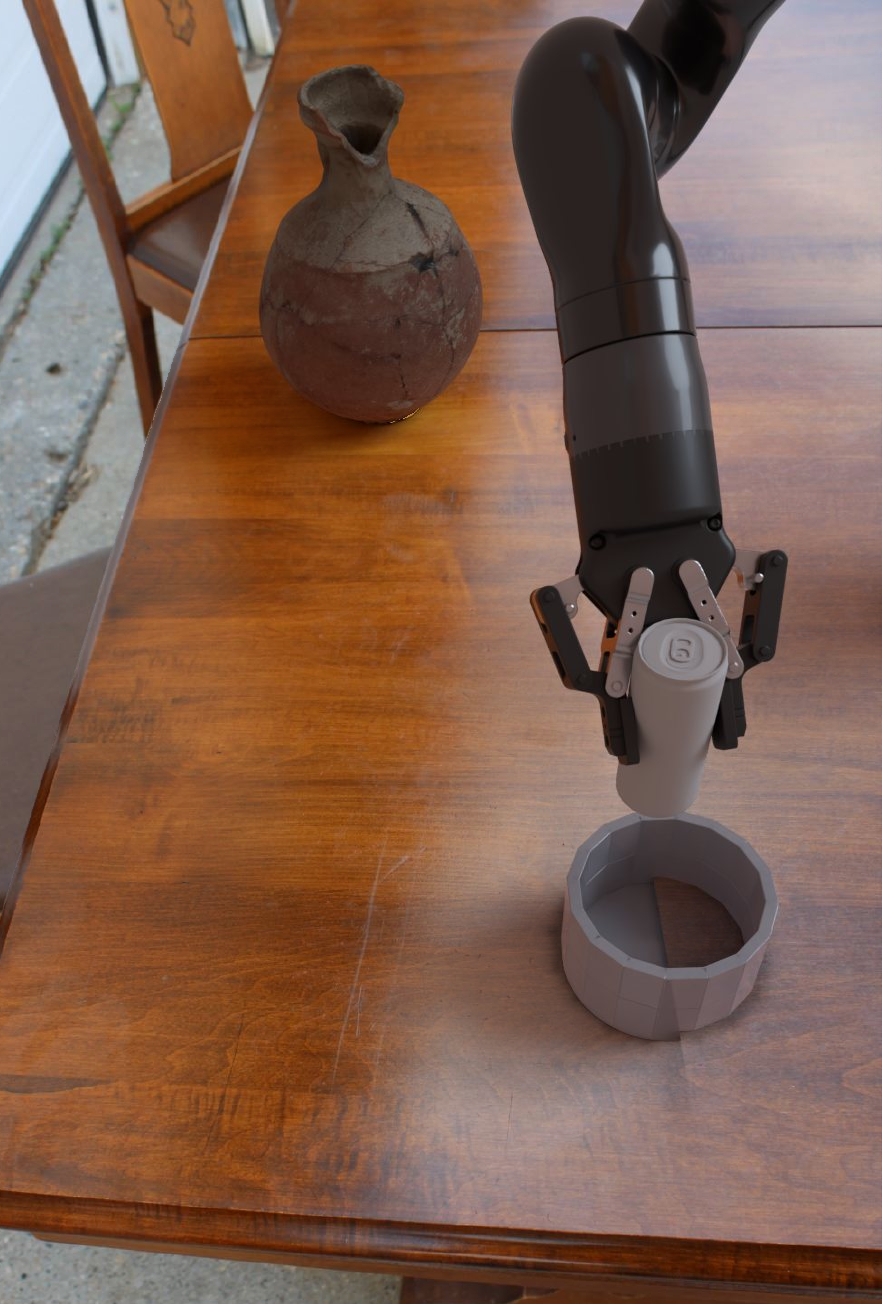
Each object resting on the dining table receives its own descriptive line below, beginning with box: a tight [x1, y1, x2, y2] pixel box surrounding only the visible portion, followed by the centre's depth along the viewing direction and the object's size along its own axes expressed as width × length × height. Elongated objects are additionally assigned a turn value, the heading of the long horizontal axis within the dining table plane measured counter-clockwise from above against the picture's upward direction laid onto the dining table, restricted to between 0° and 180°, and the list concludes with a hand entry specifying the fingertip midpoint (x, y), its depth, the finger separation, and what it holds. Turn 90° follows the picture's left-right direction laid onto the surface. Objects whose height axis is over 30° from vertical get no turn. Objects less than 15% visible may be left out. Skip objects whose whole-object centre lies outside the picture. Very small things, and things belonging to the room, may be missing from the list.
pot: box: [560, 811, 780, 1042], centre depth 78 cm, size 13×13×8 cm
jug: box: [258, 63, 484, 425], centre depth 112 cm, size 22×22×30 cm
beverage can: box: [615, 618, 728, 818], centre depth 67 cm, size 5×5×12 cm
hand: (677, 754), depth 66 cm, fingers closed on beverage can, 4 cm apart
